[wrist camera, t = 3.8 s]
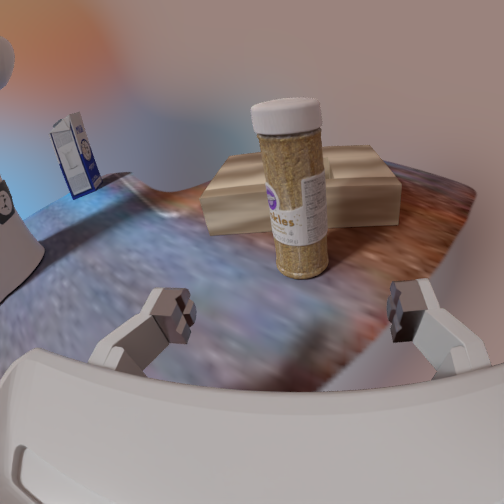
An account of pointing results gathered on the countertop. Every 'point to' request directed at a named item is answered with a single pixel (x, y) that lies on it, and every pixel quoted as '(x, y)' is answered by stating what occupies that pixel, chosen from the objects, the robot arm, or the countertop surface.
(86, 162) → the milk carton
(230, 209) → the bottle holder
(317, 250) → the sprinkles bottle
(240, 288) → the countertop surface
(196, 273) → the countertop surface
